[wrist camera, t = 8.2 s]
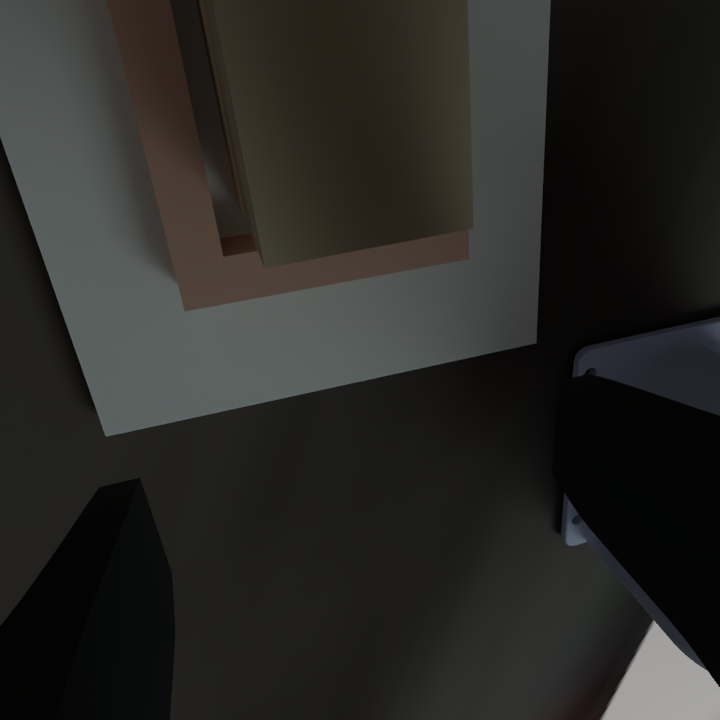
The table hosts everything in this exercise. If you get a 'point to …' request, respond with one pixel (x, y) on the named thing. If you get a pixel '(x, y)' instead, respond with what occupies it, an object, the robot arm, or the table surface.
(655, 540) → the robot arm
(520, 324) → the holder
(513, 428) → the table surface
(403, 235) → the oak block
